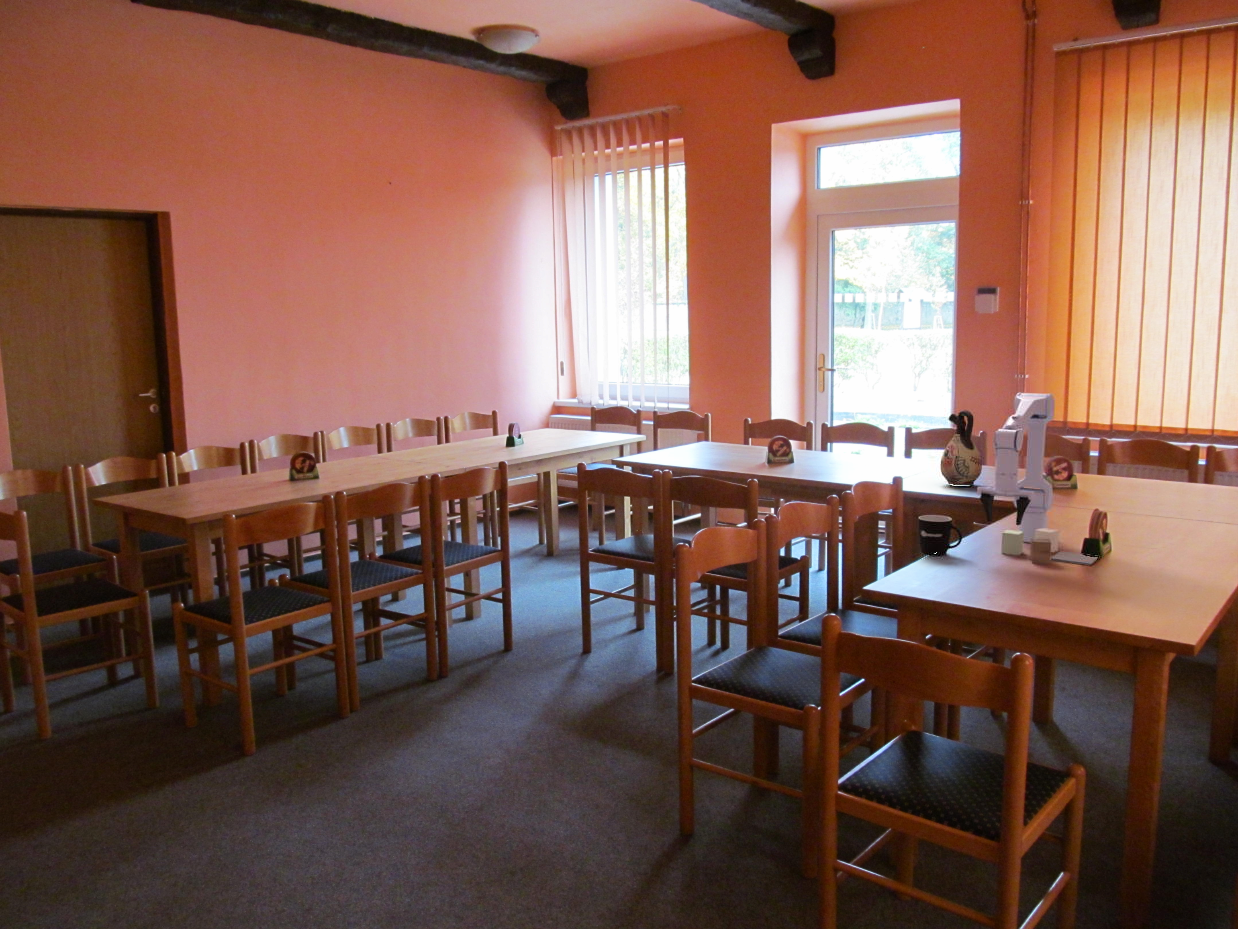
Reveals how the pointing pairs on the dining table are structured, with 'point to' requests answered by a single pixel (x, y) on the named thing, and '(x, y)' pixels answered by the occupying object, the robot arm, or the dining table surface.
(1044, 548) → the walnut block
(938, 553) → the mug
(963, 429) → the ceramic jug
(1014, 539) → the green block
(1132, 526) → the dining table surface
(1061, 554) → the coaster
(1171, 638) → the dining table surface
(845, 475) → the dining table surface
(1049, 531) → the cream block
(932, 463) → the dining table surface
